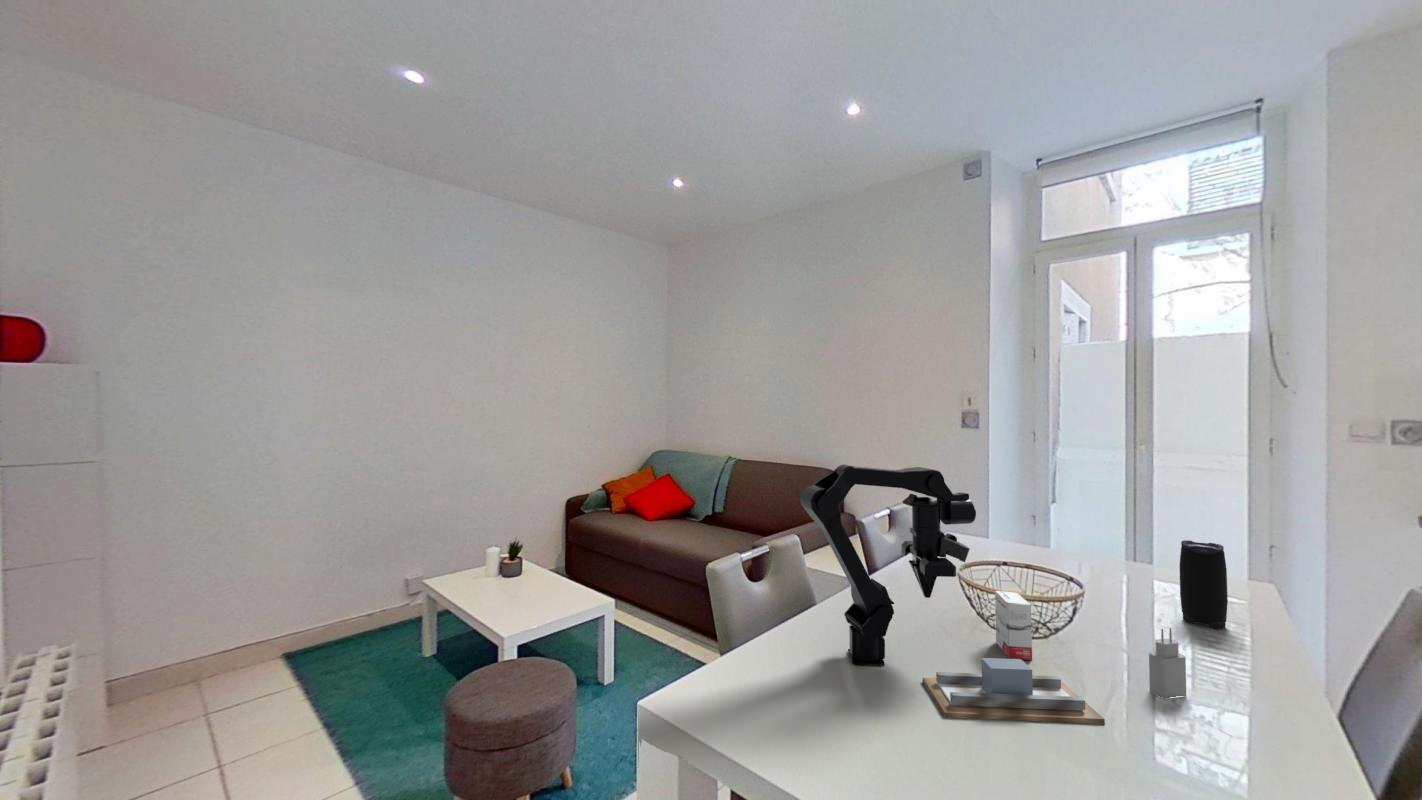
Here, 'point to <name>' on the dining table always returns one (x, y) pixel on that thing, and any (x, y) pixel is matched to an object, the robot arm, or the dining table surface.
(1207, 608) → the portable speaker
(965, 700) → the rail mount
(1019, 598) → the ink box
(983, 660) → the block
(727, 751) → the dining table surface
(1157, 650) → the power adapter
